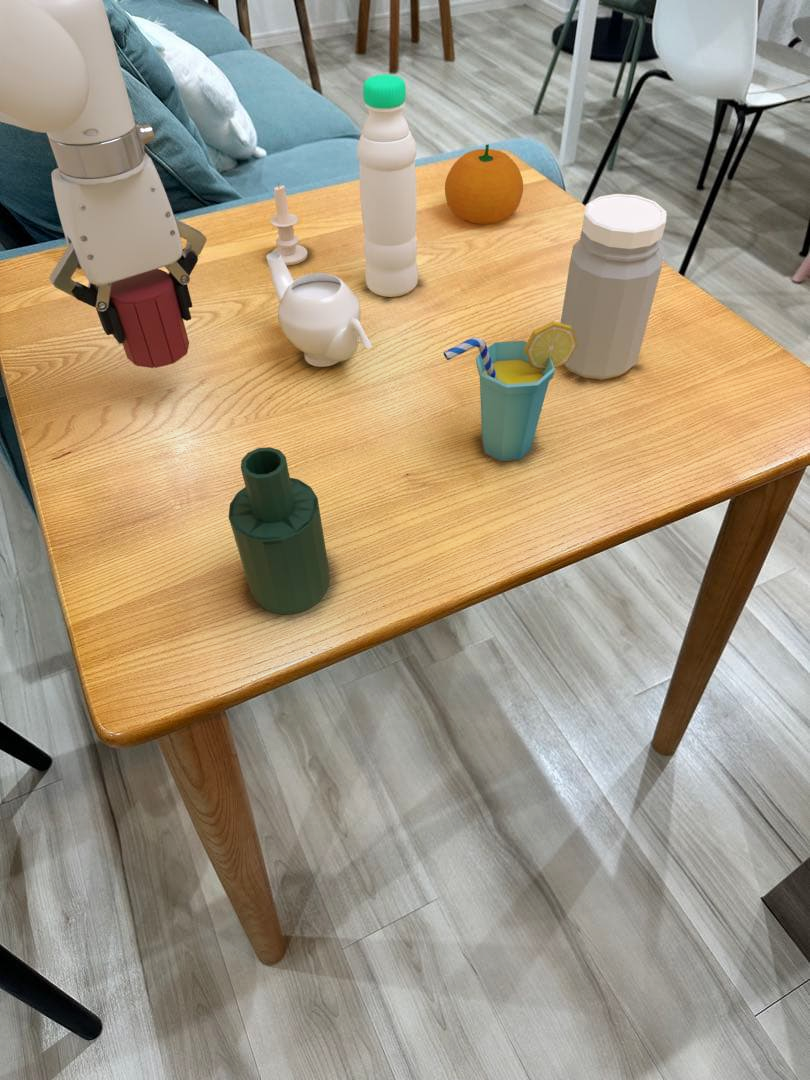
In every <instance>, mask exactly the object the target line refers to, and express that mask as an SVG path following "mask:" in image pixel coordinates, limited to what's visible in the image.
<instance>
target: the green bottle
mask: <svg viewBox="0 0 810 1080" xmlns="http://www.w3.org/2000/svg"><path fill="white" fill-rule="evenodd" d="M240 470H241V471H240V472H241V475H242V479H243V482H244V487H243V488H241V490H239V491H237V493H236V494H235V495H234V498H233V499H232V501H231V502H230V503H229V510H228V520H229V523H230V527H231V531H232V534H233V537H234V541H235V544H236V547H237V550H238V554H239V557H240V561H241V564H242V568H243V570H244V571H243V572H244V574H245V578H246V581H247V583H248V589H249V590H250V592H251V595H252V597H253V599H254V601H255V602H256V603H257V605H258V606H260V607H261V608H263V609H264V610H266V611H268V612H270V613H273V614H279V615H294V614H298V613H302V612H305V611H307V610H309V609H311V608H313V607H314V606H316V605H317V604H318V603H320V601H321V600H323V598H324V597H325V595H326V594H327V592H328V589H329V587H330V579H331V578H330V568H329V567H330V566H329V561H328V554H327V549H326V548H327V547H326V542H325V535H324V529H323V523H322V517H321V511H320V505H319V498H318V496H317V494H316V493H315V491H314V490H313V488H312V486H311V485H309V484H307V483H306V482H304V481H302V480H301V479H299V478H295V477H294V478H293V477H290V476H291V475H290V472H289V467H288V462H287V457H286V455H285V454H284V453H283V452H282V451H281V450H280V449H277V448H274V447H272V446H270V447H269V446H267V447H266V446H265V447H258V448H255V449H253V450H251V451H249V452H246V454H245V455H244V456H243V458H242V459H241V462H240Z"/></svg>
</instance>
